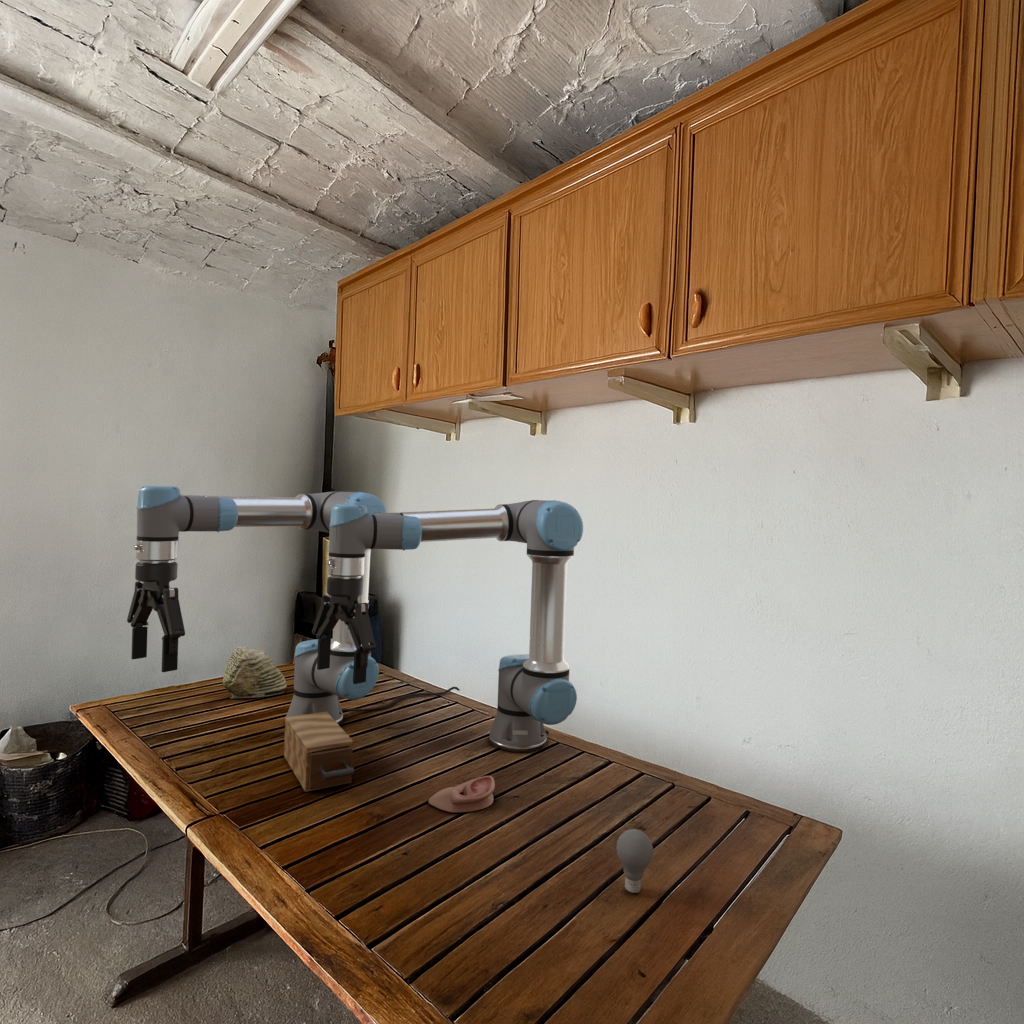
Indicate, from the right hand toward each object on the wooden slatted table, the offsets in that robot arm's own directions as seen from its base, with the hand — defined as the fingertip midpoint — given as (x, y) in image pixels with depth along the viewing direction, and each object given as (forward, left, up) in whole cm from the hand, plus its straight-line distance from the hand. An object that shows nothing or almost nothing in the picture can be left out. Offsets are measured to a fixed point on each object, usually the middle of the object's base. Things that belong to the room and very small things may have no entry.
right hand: (340, 675), depth 135 cm
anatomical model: (-24, +13, -25) cm, 37 cm away
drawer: (+2, -9, -24) cm, 26 cm away
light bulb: (-40, +52, -25) cm, 70 cm away
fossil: (+13, -75, -25) cm, 80 cm away
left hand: (+36, -11, +2) cm, 37 cm away
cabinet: (+2, -14, -25) cm, 29 cm away
